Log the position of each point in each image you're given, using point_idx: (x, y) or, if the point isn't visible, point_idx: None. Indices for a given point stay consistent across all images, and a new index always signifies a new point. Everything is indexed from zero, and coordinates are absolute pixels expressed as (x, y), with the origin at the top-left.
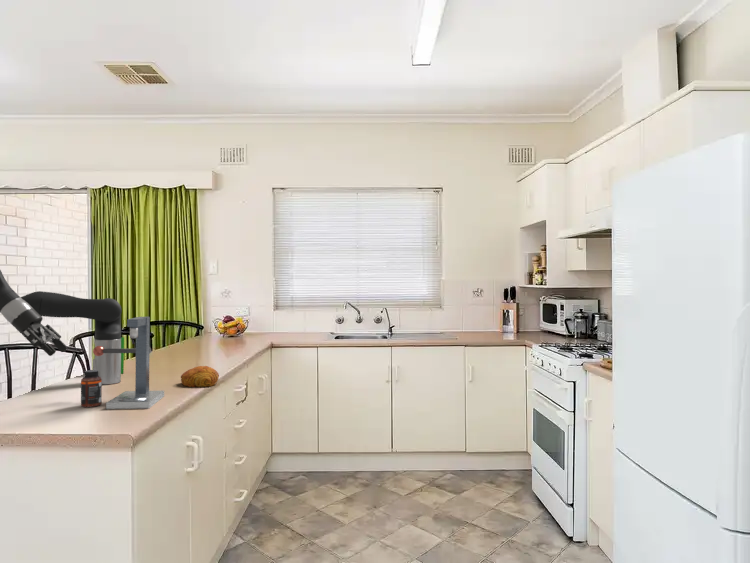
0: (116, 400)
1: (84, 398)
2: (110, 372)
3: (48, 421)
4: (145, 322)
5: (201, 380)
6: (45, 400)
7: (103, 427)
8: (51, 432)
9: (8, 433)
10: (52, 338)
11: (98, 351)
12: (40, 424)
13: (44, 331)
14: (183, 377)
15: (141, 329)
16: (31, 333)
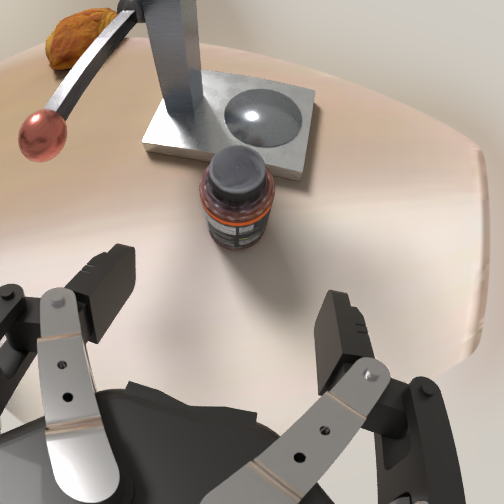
0: (276, 150)
1: (263, 229)
2: None
3: (400, 302)
4: None
5: None
6: (108, 372)
7: (452, 183)
8: (475, 270)
9: (468, 353)
10: (22, 360)
11: (64, 129)
12: (422, 313)
13: (139, 458)
14: (81, 50)
15: None
16: (457, 486)
